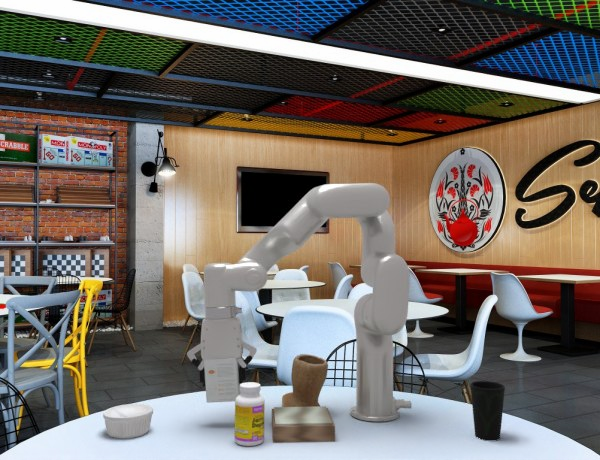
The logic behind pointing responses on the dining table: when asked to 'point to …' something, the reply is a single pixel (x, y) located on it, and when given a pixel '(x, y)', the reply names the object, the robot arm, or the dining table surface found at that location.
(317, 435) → the stand
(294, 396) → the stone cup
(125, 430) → the ramekin
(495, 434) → the cup
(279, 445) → the dining table surface
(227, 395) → the small box
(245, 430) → the supplement bottle
